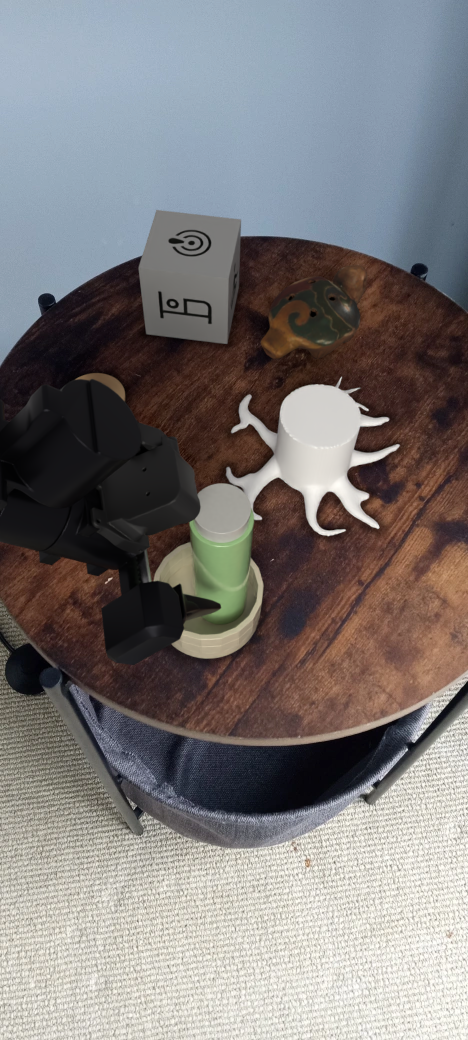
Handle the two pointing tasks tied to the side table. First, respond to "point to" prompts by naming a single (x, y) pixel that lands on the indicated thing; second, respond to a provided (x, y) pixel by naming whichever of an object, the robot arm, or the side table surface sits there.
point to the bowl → (198, 632)
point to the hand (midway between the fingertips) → (207, 558)
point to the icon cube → (190, 276)
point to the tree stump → (313, 449)
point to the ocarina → (315, 314)
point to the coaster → (106, 382)
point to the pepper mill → (222, 550)
